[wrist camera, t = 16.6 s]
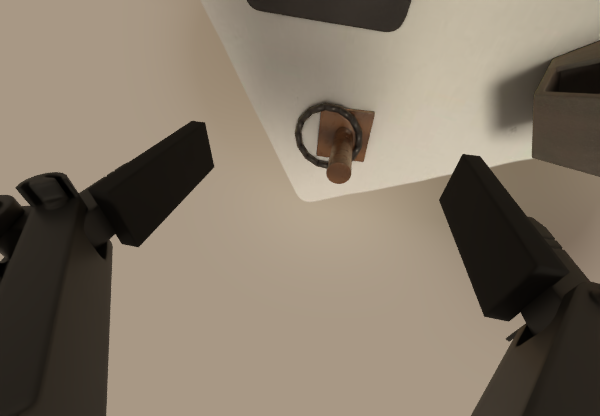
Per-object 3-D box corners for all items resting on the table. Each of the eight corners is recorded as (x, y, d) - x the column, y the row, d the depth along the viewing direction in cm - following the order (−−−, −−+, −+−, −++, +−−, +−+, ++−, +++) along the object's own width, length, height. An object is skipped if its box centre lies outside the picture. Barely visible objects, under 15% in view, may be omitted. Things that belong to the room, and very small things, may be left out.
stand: (322, 105, 38) (308, 138, 28) (374, 111, 37) (380, 147, 27) (317, 153, 43) (304, 195, 33) (363, 159, 42) (364, 204, 32)
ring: (297, 96, 37) (295, 99, 37) (371, 110, 35) (370, 113, 35) (294, 158, 45) (292, 161, 44) (355, 173, 43) (354, 176, 42)
